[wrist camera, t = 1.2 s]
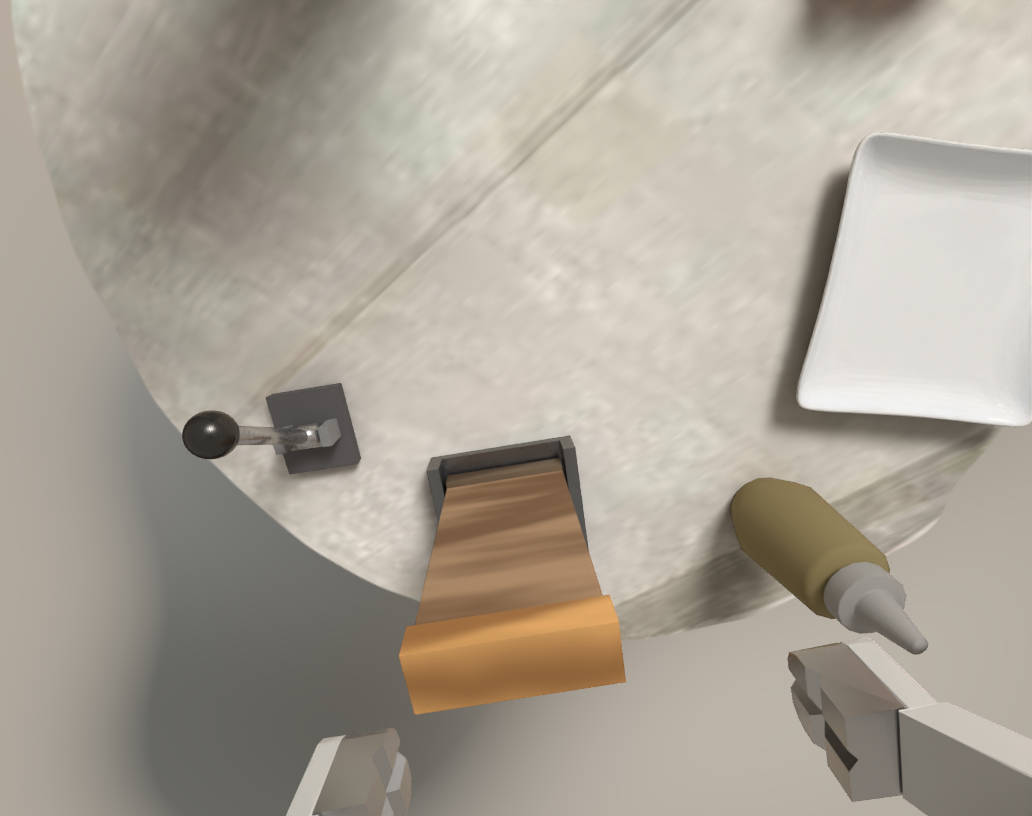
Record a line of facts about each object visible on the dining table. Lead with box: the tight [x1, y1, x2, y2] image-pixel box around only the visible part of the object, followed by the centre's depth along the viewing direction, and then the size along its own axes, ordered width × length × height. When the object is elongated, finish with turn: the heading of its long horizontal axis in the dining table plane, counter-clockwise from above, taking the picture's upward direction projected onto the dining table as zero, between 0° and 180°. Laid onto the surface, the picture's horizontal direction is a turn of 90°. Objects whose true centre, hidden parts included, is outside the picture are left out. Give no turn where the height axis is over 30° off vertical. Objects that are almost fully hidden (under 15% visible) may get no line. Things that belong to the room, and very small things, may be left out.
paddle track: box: [427, 436, 589, 551], centre depth 44 cm, size 13×13×3 cm
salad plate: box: [796, 132, 1032, 427], centre depth 40 cm, size 21×21×3 cm
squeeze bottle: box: [731, 478, 928, 654], centre depth 37 cm, size 8×8×18 cm
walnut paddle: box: [399, 458, 626, 715], centre depth 33 cm, size 4×11×21 cm, turn 99°
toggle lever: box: [182, 411, 322, 459], centre depth 34 cm, size 3×3×14 cm
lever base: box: [266, 383, 361, 474], centre depth 41 cm, size 7×6×4 cm
